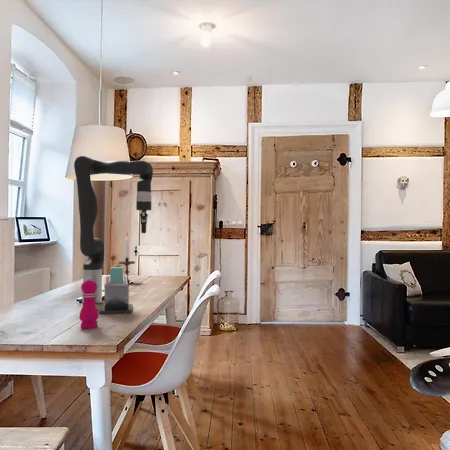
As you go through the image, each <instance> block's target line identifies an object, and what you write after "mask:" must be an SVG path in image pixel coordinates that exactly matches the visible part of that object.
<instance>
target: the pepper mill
mask: <svg viewBox="0 0 450 450" xmlns="http://www.w3.org/2000/svg"><path fill="white" fill-rule="evenodd" d="M91 279H92V278H91V277H90V276H89V277H87V280H88V281H85V282H83V281H82V283H81V286H80V289H81V292H82V291H83V292H84V293H83V297H84V303H82V304H83V305H82V308H81V309H80V311H79V320H80V321H81V323H80V329H82V330H92V329H95V328H97V327H98V321H97V320H98V319H99V317H100V314H99V310H98V308H97V306H96V303H95V296H96V293H95V291H96V290H97V284H96V282H95V281H92V280H91Z"/></svg>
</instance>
